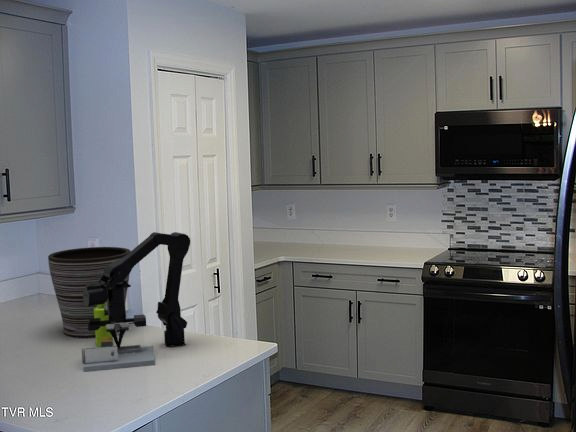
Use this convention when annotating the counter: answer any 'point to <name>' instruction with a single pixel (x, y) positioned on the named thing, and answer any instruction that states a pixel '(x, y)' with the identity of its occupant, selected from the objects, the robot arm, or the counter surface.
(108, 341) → the fader knob
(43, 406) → the counter surface
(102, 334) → the soap dispenser
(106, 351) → the rack door
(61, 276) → the planter pot
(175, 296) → the robot arm
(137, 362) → the console
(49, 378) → the counter surface
